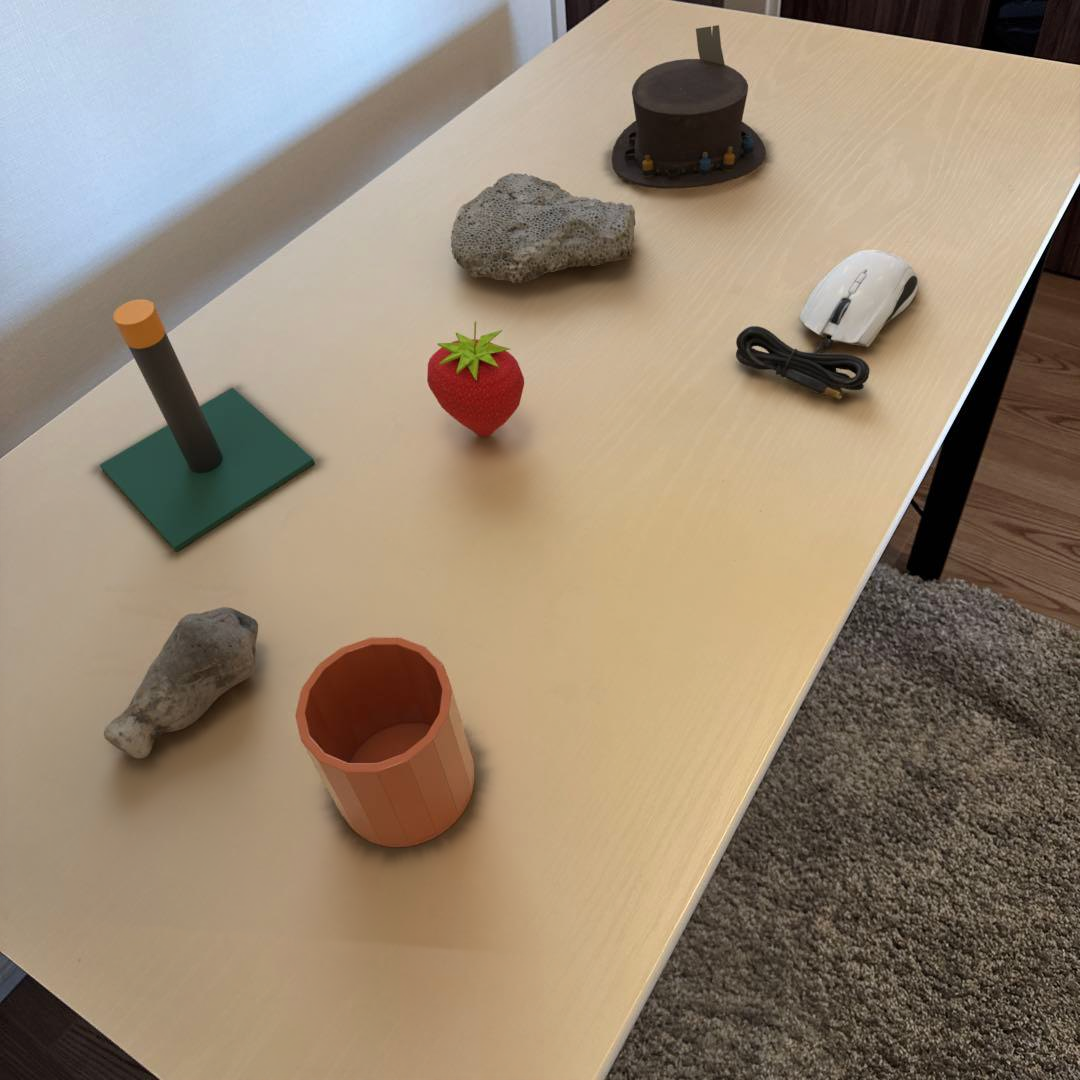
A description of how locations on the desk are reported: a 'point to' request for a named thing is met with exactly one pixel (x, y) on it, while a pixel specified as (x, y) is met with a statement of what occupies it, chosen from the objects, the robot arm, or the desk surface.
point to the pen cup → (387, 740)
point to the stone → (187, 677)
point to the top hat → (689, 123)
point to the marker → (168, 383)
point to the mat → (207, 498)
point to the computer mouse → (837, 322)
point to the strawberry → (476, 382)
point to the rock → (537, 230)
